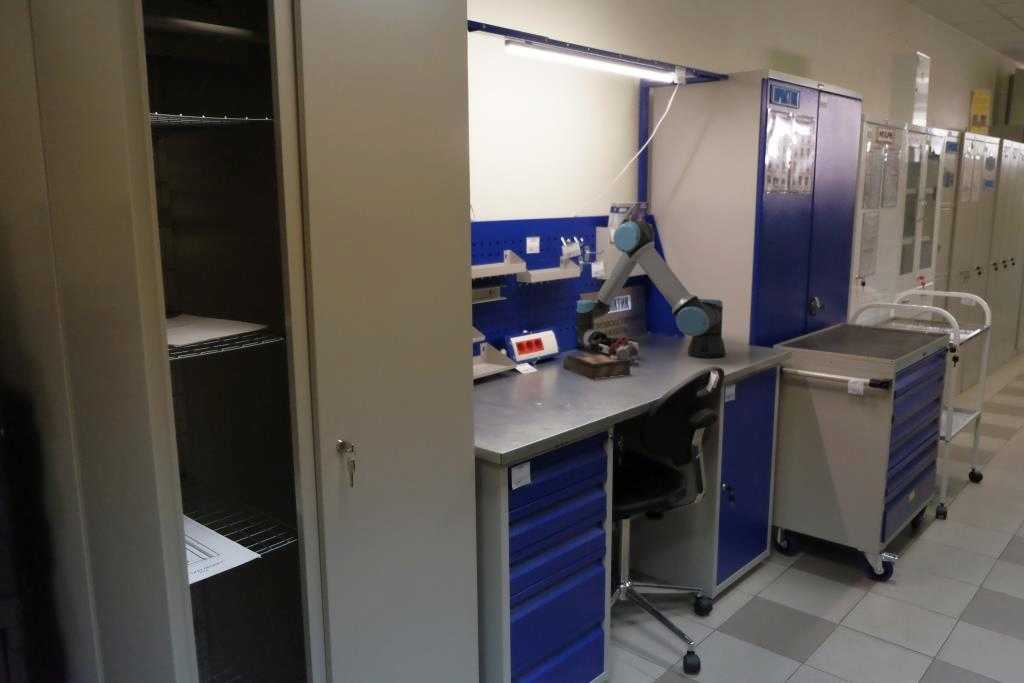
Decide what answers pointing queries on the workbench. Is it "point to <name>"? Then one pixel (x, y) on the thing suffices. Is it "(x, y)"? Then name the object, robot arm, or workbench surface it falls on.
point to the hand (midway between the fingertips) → (622, 348)
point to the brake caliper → (623, 350)
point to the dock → (597, 366)
